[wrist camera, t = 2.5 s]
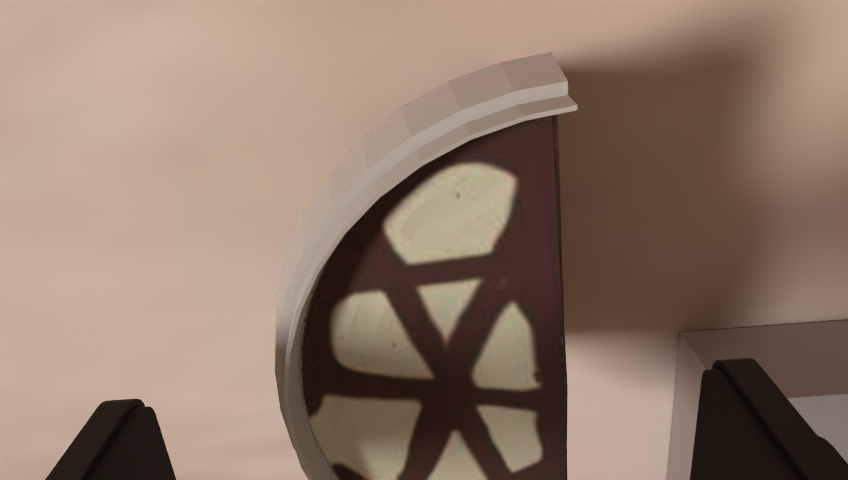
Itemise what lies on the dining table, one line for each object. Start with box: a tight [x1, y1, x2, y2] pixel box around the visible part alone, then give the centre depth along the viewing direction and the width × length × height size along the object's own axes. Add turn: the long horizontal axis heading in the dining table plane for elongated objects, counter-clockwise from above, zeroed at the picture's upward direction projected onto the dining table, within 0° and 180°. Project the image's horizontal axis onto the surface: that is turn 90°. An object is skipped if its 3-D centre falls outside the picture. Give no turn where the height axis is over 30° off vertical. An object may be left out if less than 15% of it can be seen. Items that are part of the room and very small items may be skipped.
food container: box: [275, 52, 577, 480], centre depth 17 cm, size 12×6×10 cm, turn 6°
